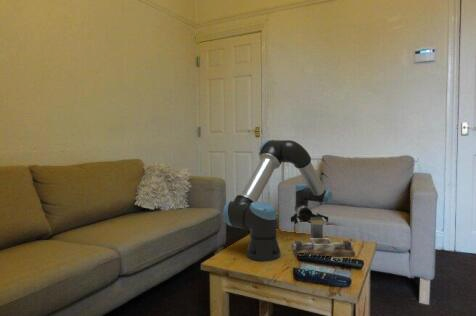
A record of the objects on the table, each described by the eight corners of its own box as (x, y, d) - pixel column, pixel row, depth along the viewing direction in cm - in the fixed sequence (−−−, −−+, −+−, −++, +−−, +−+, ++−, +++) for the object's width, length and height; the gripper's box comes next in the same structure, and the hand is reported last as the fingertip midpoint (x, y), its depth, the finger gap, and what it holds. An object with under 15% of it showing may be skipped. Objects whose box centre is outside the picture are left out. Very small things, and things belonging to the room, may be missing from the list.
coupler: (312, 245, 164) (312, 219, 163) (310, 242, 169) (310, 216, 168) (322, 245, 164) (323, 219, 163) (320, 242, 169) (320, 216, 168)
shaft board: (294, 257, 150) (294, 245, 149) (290, 247, 162) (290, 237, 161) (356, 256, 149) (356, 244, 149) (347, 247, 161) (347, 236, 161)
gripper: (326, 219, 197) (336, 230, 176) (283, 220, 197) (288, 230, 176) (326, 206, 196) (336, 215, 175) (283, 207, 197) (288, 216, 175)
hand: (312, 223), depth 176 cm, fingers open, 13 cm apart
